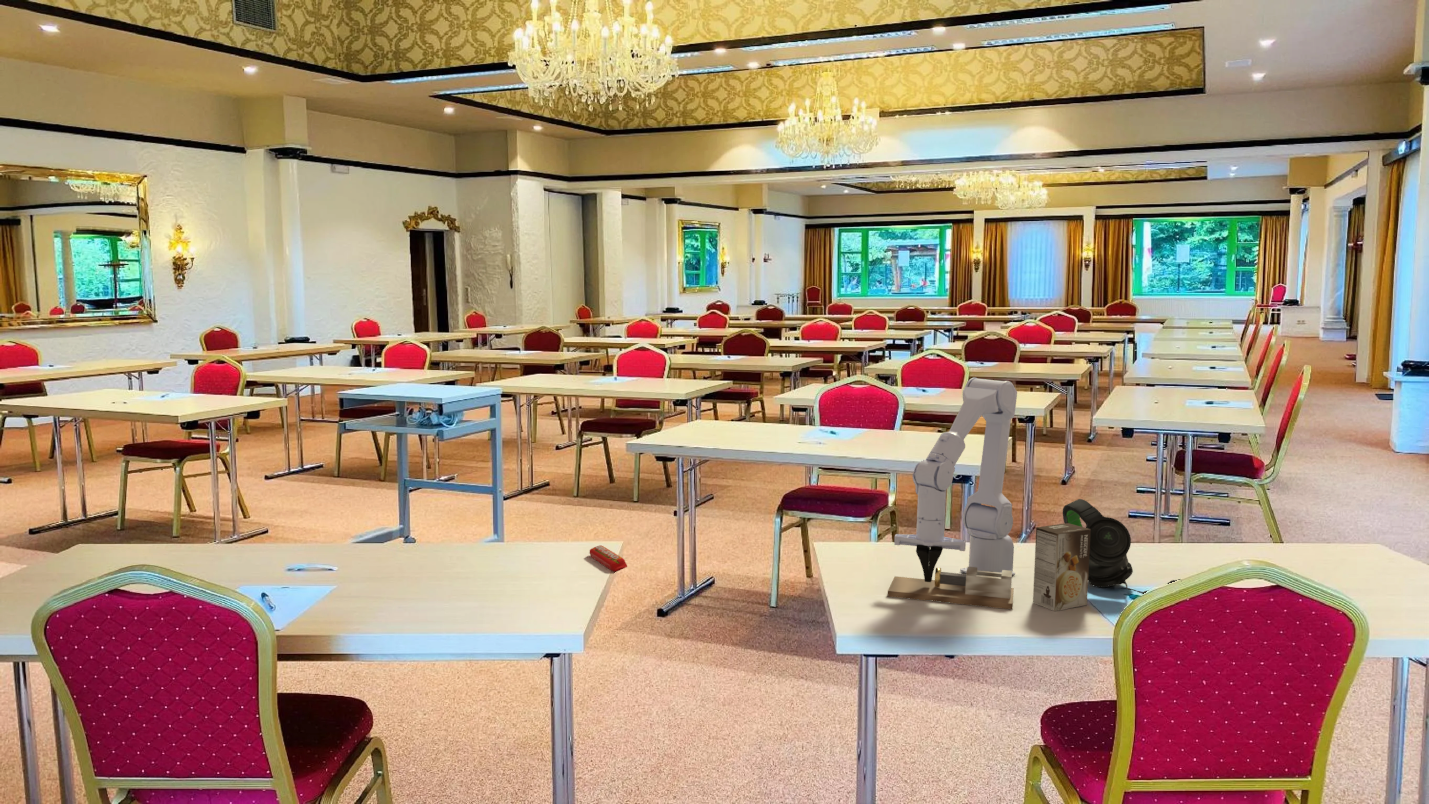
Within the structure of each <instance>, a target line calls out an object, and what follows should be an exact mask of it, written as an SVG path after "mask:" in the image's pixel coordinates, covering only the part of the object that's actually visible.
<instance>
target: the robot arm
mask: <svg viewBox="0 0 1429 804" xmlns="http://www.w3.org/2000/svg"><path fill="white" fill-rule="evenodd" d="M1017 398H1018V391H1017V389H1016V388H1015V385H1014V384H1013V383H1012V381H1009V380H996V379H994V380H993V379H985V378H977V377H972V378H970V379H968V381H967V382H966V383H965V386H964V388H963V390H962V402H963V403H962V404H961V406H960V408H959V411H958V413H957V415H956V416H955V418H954V420H953V423H952V425H951V427H950V429H949V431H945V432H942V433H941V434H940V436H939V437H938V439H937V440H936V442H935V443H934V446H933V447H931V448H932V449H931V450H930V451H929V454H928V455H927V457H926V458H925V459H923V460H921V461H919V462H918V463H917V464H916V465H915V467H914V469H913V473H912V474H911V475H912V481H913V483H914V486H915V495H917V505H916V508H917V511H916V531H915V532H916V534H906V533H905V534H903V533H900V534H899V533H896V534H895V535H894V543H893V544H894V546H901V545H902V546H912V547H916V549H915V552H916V556H917V557H918V560H919V561H920V565H921V568H922V571H923V579H925V582H931V581H932V580H933V575H934V572H935V571H934V570H935V569H936V566H937V564H938V563H937V562H938V560H939V559H940V557H941V555H942V554H943V550H944V549H946V550H955V551H957V550H958V551H960V552H965V551H966V545H967V543H966V542H967V540H966V539H958V538H953V537H946V536H945V526H946V524H945V522H946V520H945V519H946V501H947V500H946V499H947V490H948V489H949V487H950V486H951V485H952V483H953V479H954V472H955V470H956V468H955V465H956V464H957V462H958V461H959V459H960V457H961V456H962V454H963V452H964V451H965V449H966V442H965V439H966V437H967V436H968V434H969V433H970V432H971V430H972V429H973V427H974V426H975V425H976V423H977V422H978V421H979V419H980V418H981V416H982V417H983V419H984V421H985V429H984V430H985V431H984V439H983V446H982V455H981V463H980V471H979V478H978V479H979V480H978V488H977V491H975V492H974V493H973V494H971V495H969V496H968V497H967V501H966V506H965V508H964V510H963V512H962V523H963V526H964V528H965V529H966V530H967V531H966V533H967V534H969V554H968V556H969V557H968V567H977V570H979V571H990V572H1000V573H1002V570H1009V571H1012V576H1015V575H1016V572H1014V571H1013V569H1014V552H1015V550H1014V549H1015V546H1014V543H1013V539H1012V538H1011V536H1010V535H1009V534H1010V532H1011V531H1012V528H1013V525H1014V517H1013V504H1012V503H1011V501H1010V500H1009V499H1008V498H1007V497H1006V496H1005V495H1004V494H1003V489H1004V488H1003V487H1004V479H1005V473H1006V472H1005V471H1006V461H1007V455H1008V454H1007V453H1008V446H1009V438H1010V431H1011V423H1012V419H1013V418H1015V413H1016V407H1017ZM959 571H960V572H963V574H966V572H967V567H964V568H960V569H959Z"/></svg>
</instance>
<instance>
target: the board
mask: <svg viewBox="0 0 1429 804" xmlns="http://www.w3.org/2000/svg"><path fill="white" fill-rule="evenodd" d="M966 568H967V572H966V573H965V574H966V586H958V585H948V584H940V587H935V579H932V581H931V582H925V579H924V578H914V577H907V576H905V577H904V576H896V575H894V577H893V579H892V581H891V584H890V586H889V588H888V589H887V597H890V598H891V597H892V598H899V599H907V598H910V599H909V600H917V599H919V600H918V601H926V600H933V601H932V602H936V601H941V602H940V603H945V602H950V603H949V604H955V603H956V604H957V605H966V606H976V607H983V608H984V607H985V608H994V609H995V608H996V609H1005V610H1013V608H1014V607H1013V604H1014V588H1015V587H1012V581H1013V580H1012V579H1013V575H1012V571H1009V570H1002V573H1000V572H990V571H979V570H977V567H969V566H967V567H966Z"/></svg>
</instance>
